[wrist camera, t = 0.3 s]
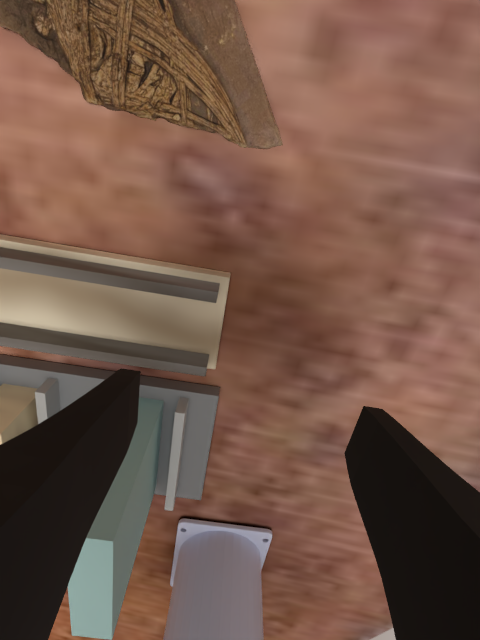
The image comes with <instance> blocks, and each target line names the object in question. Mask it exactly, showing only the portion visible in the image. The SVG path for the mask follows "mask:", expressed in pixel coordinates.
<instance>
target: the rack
mask: <svg viewBox="0 0 480 640" xmlns="http://www.w3.org/2000/svg"><path fill="white" fill-rule="evenodd" d="M114 373H115V371H108V370H102V369H95V368H88V367H82V366H75V365H68V364H61V363H55V362H48V361H41V360H35V359H28V358H21V357H14V356H8V355H1V354H0V386H1V385H2V384H9V385H16V386H23V387H30V388H37V390H36V391H35V399H36V408H37V417H38V424H40V423H41V422H43V421H44V420H46V419H48V418H49V417H51V416H52V415H54V414H56V413H57V412H59V411H61V410H62V409H64V408H65V407H67V406H68V405H70V404H71V403H73V402H74V401H76V400H77V399H78V398H80V397H81V396H83V395H84V394H86V393H87V392H89V391H90V390H91V389H93V388H94V387H96V386H97V385H98V384H100V383H101V382H103V381H104V380H105V379H107V378H108V377H110V376H111V375H112V374H114ZM219 390H220V387H216V386H209V385H203V384H196V383H189V382H182V381H176V380H169V379H162V378H156V377H149V376H142V375H140V390H139V397H141V398H148V399H155V400H162V401H164V404H163V415H162V426H161V438H160V449H159V460H158V472H157V483H156V488H155V491H154V494H158V495H165V496H166V501H165V510H169V511H173V508H174V503H175V499H176V497H181V498H188V499H196V500H201V496H202V490H203V484H204V479H205V473H206V467H207V461H208V455H209V450H210V444H211V438H212V432H213V427H214V421H215V415H216V409H217V403H218V398H219Z"/></svg>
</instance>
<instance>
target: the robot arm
mask: <svg viewBox="0 0 480 640" xmlns="http://www.w3.org/2000/svg"><path fill="white" fill-rule="evenodd" d="M140 373H141V372H140V371H134V370H127V369H120V370H118V371H117V372H115V373H114V374H112V375H111V376H110V377H108V378H107V379H105V380H104V381H103V382H101V383H100V384H98V385H97V386H96V387H94V388H93V389H91V390H90V391H89V392H87V393H86V394H84V395H83V396H81V397H80V398H78V399H77V400H76V401H74V402H73V403H71V404H70V405H68V406H67V407H65V408H64V409H62V410H61V411H59V412H57V413H56V414H54V415H52V416H51V417H49V418H48V419H46V420H44V421H43V422H41V423H40V424H38V425H36V426H34V427H33V428H31V429H29V430H27V431H25V432H24V433H22V434H20V435H18V436H16V437H14V438H12V439H10V440H8V441H7V442H5V443H3V444H1V445H0V640H48V638H49V635H50V632H51V630H52V627H53V624H54V621H55V619H56V616H57V613H58V611H59V608H60V605H61V602H62V600H63V597H64V594H65V592H66V589H67V586H68V584H69V581H70V578H71V576H72V573H73V571H74V568H75V565H76V563H77V560H78V558H79V555H80V552H81V550H82V547H83V545H84V542H85V540H86V537H87V535H88V533H89V531H90V528H91V526H92V524H93V522H94V520H95V518H96V516H97V514H98V511H99V509H100V507H101V505H102V503H103V501H104V499H105V497H106V495H107V493H108V491H109V489H110V487H111V485H112V483H113V481H114V479H115V477H116V475H117V473H118V471H119V468H120V466H121V464H122V462H123V460H124V458H125V456H126V454H127V451H128V449H129V446H130V443H131V440H132V437H133V435H134V432H135V429H136V426H137V423H138V407H139V390H140ZM345 458H346V463H347V469H348V474H349V478H350V483H351V486H352V490H353V493H354V496H355V499H356V502H357V505H358V508H359V511H360V514H361V517H362V520H363V523H364V526H365V529H366V531H367V534H368V537H369V540H370V543H371V546H372V549H373V552H374V555H375V558H376V561H377V564H378V568H379V571H380V574H381V578H382V582H383V586H384V590H385V594H386V598H387V602H388V606H389V610H390V615H391V619H392V623H393V628H394V632H395V637H396V640H480V492H478V491H477V490H476V489H475V488H473V487H472V486H471V485H470V484H469V483H467V482H466V481H465V480H464V479H462V478H461V477H460V476H459V475H458V474H456V473H455V472H454V471H453V470H452V469H450V468H449V467H448V466H447V465H446V464H445V463H443V462H442V461H441V460H440V459H439V458H438V457H436V456H435V455H434V454H433V453H432V452H431V451H430V450H429V449H427V448H426V447H425V446H424V445H423V444H422V443H421V442H420V441H418V440H417V439H416V438H415V437H414V436H413V435H412V434H411V433H410V432H408V431H407V430H406V429H405V428H404V427H403V426H402V425H401V424H400V423H398V422H397V421H396V420H395V419H394V418H393V417H391V416H390V415H389V414H388V413H387V412H385V411H384V410H383V409H379V408H373V407H366V406H364V407H363V409H362V411H361V414H360V416H359V419H358V421H357V424H356V426H355V429H354V431H353V434H352V436H351V439H350V441H349V443H348V446H347V448H346V451H345ZM271 539H272V531H271V530H269V529H264V528H256V527H249V526H241V525H233V524H225V523H217V522H209V521H201V520H194V519H186V518H183V519H180V520H179V523H178V529H177V536H176V543H175V551H174V558H173V565H172V573H171V580H170V585H171V586H172V587H173V588H172V594H171V599H170V605H169V611H168V616H167V622H166V628H165V633H164V639H163V640H264V639H263V611H262V584H261V570H262V567H263V564H264V561H265V558H266V555H267V552H268V549H269V546H270V543H271Z"/></svg>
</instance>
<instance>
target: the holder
mask: <svg viewBox="0 0 480 640" xmlns="http://www.w3.org/2000/svg"><path fill="white" fill-rule="evenodd" d="M230 274H231V273H229V272H223V271H217V270H211V269H205V268H199V267H193V266H187V265H182V264H176V263H170V262H164V261H158V260H152V259H146V258H140V257H134V256H128V255H122V254H116V253H110V252H104V251H98V250H92V249H86V248H80V247H74V246H68V245H62V244H56V243H50V242H44V241H38V240H32V239H26V238H20V237H14V236H8V235H2V234H0V346H5V347H12V348H18V349H25V350H32V351H38V352H45V353H52V354H58V355H65V356H72V357H78V358H85V359H92V360H98V361H105V362H112V363H118V364H125V365H132V366H138V367H145V368H152V369H158V370H165V371H172V372H178V373H185V374H192V375H198V376H206V371H207V368H210V369H215V368H216V362H217V355H218V349H219V343H220V337H221V330H222V324H223V318H224V312H225V306H226V299H227V293H228V287H229V281H230Z"/></svg>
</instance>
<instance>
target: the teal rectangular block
mask: <svg viewBox="0 0 480 640" xmlns="http://www.w3.org/2000/svg"><path fill="white" fill-rule="evenodd" d="M163 404H164V401H162V400H155V399H148V398H141V397H139V407H138V423H137V426H136V429H135V432H134V435H133V437H132V440H131V443H130V446H129V449H128V451H127V454H126V456H125V458H124V460H123V462H122V464H121V466H120V468H119V471H118V473H117V475H116V477H115V479H114V481H113V483H112V485H111V487H110V489H109V491H108V493H107V495H106V497H105V499H104V501H103V503H102V505H101V507H100V509H99V511H98V514H97V516H96V518H95V520H94V522H93V524H92V526H91V528H90V531H89V533H88V535H87V537H86V540H85V542H84V545H83V547H82V550H81V552H80V555H79V558H78V560H77V563H76V565H75V568H74V571H73V573H72V576H71V578H70V581H69V584H68V595H69V607H70V618H71V630H72V635H73V636H82V637H91V638H101V639H110V640H112V638H113V634H114V631H115V627H116V624H117V621H118V617H119V614H120V610H121V607H122V603H123V600H124V596H125V593H126V589H127V586H128V582H129V579H130V575H131V572H132V568H133V565H134V561H135V558H136V554H137V551H138V547H139V544H140V540H141V537H142V533H143V530H144V526H145V523H146V519H147V516H148V512H149V509H150V505H151V502H152V498H153V495H154V491H155V488H156V483H157V472H158V460H159V449H160V438H161V426H162V415H163Z"/></svg>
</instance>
